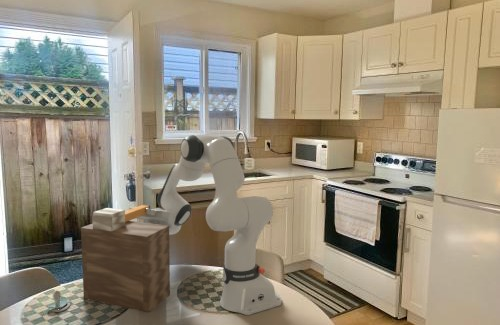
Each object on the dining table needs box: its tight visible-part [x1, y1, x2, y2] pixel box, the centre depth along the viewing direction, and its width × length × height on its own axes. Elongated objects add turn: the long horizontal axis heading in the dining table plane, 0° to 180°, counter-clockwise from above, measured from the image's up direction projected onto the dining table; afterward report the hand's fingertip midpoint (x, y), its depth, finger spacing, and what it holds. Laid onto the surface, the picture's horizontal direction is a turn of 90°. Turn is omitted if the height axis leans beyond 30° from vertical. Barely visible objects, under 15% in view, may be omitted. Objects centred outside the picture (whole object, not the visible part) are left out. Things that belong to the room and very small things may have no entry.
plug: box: [125, 204, 151, 222], centre depth 152 cm, size 18×4×3 cm, turn 161°
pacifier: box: [47, 290, 71, 313], centre depth 134 cm, size 7×6×6 cm
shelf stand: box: [80, 207, 171, 313], centre depth 141 cm, size 14×28×33 cm, turn 71°
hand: (141, 209), depth 157 cm, fingers closed on plug, 3 cm apart
